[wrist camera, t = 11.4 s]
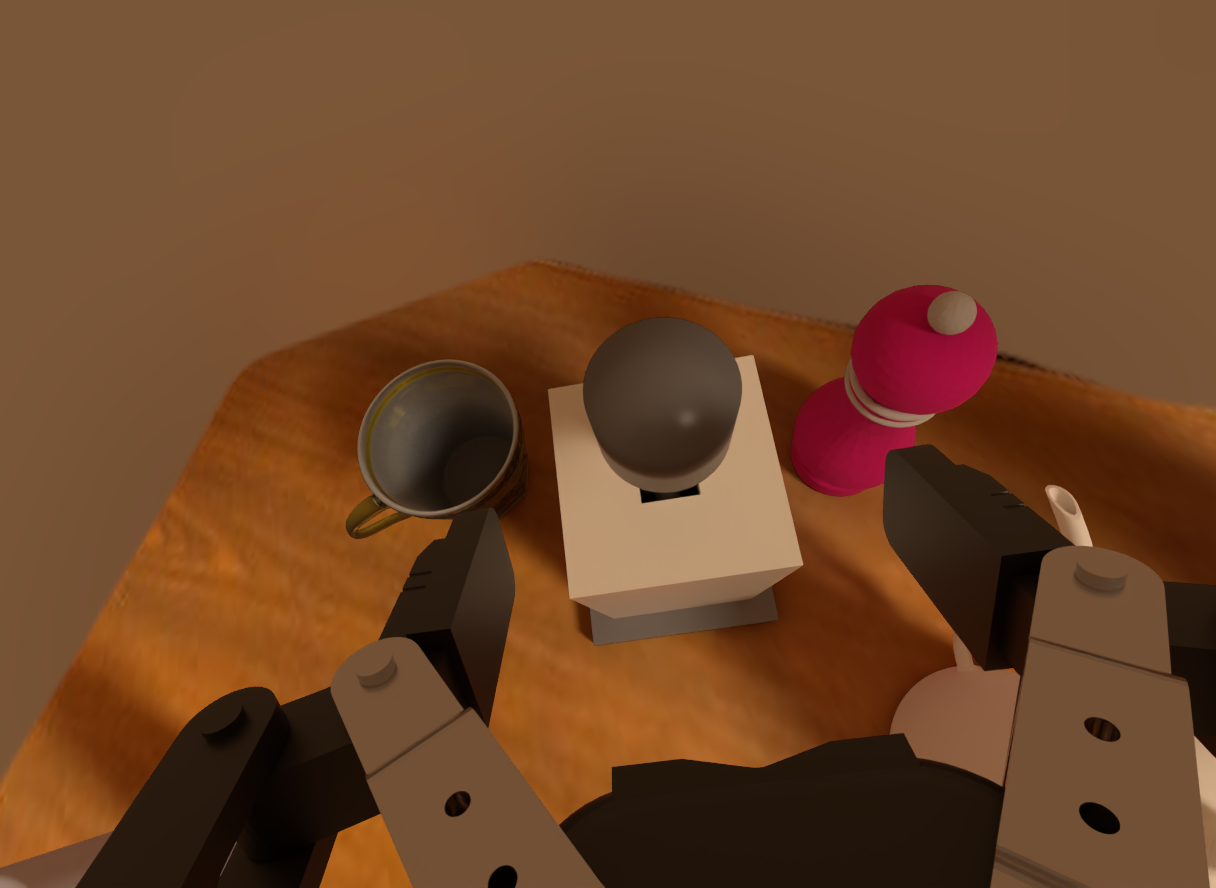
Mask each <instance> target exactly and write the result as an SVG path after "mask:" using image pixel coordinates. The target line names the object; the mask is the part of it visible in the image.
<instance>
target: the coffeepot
mask: <svg viewBox="0 0 1216 888" xmlns="http://www.w3.org/2000/svg"><path fill="white" fill-rule="evenodd" d="M1045 491H1046V494H1047V496H1048V499H1049V502H1050V504H1051V507H1052V509H1053V512H1054V515H1055V518H1056V520H1057V523H1058V526H1059V529H1060V531H1061V534H1062V535H1063V536H1065V537H1066V538H1067V539H1068V540H1070V541H1071V542H1072V543H1073V544H1074V545H1076V546H1092V547H1093V545H1092V541H1091V538H1090V535H1089V532H1088V529H1087V527H1086V524H1085V521H1084V519H1083V516H1082V513H1081V511H1080V508H1079V506H1078V503H1077V502H1076V500H1075V499H1074V497H1073V496H1072V495H1071V494H1070V493H1069V492H1068V491H1067V490H1065V489H1063V488H1061V487H1059V486H1055V485H1048V486H1046V488H1045ZM953 650H954V656H955V660H956V664H957V666H955V667H950V668H946V669H942V670H939V671H937V672H934V673H932V674H930V675H928V676H926V677H925V678H923V679H922V680H920V681H919V682H918V683H917V684H915V685H914V686H913V687H912V688H911V689H910V690H909V691H908V693H907V694H906V695H905V696H904V698H903V699H902V701H901V702H900V704H899V706H898V708H897V710H896V712H895V715H894V717H893V721H892V724H891V728H890V734H898V733H904V735H905V736H906V738H907V740H908V742H909V744H910V746H911V748H912V750H913V752H914V754H915V755H916V757H917V758H923V759H929V760H933V761H938V762H942V763H946V764H950V765H953V766H956V767H959V768H962V769H965V770H968V771H970V772H973V773H975V774H977V775H980V776H982V777H984V778H987V779H989V780H991V781H993V782H995V783H997V784H999V785H1000V786H1002V780H1003V774H1004V769H1005V763H1006V757H1007V751H1008V745H1009V739H1010V733H1011V727H1012V721H1013V715H1014V709H1015V703H1016V697H1017V691H1018V686H1019V681H1020V676H1019V674H1018V673H1014V672H1009V671H1005V670H992V671H984V670H983V669H982V668H981V666H975V665H974V664H973V661H972V656H971V653H970V652H969V650H968V649H967V648H966V646H965V645H964V644H963V642H962V641H961V640H960V638H959V637H958V636H957V634H956V633H955V632H954V635H953ZM890 734H889V735H890ZM1194 741H1195V750H1196V760H1197V769H1198V779H1199V788H1200V798H1201V807H1202V817H1203V826H1204V836H1205V845H1206V855H1207V864H1208V874H1209V883H1210V888H1216V758H1215V757H1214V756H1213V755H1212V754H1211V753H1210V752H1209V751H1208V750H1207V749H1206V748H1205V747H1204V746H1203V745H1202V743H1201V742H1200V741H1199V740H1198V739H1197V738H1196V737H1195V736H1194Z"/></svg>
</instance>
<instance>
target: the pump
mask: <svg viewBox="0 0 1216 888" xmlns="http://www.w3.org/2000/svg"><path fill="white" fill-rule="evenodd" d="M741 398H742V380H741V374H740V370H739V367H738V364H737V362H736V360H735V358H734V356H733V354H732V353H731V351H730V350H729V348H728V347H727V346H726V345H725V343H724V342H723V341H722V340H721V339H720V338H719V337H717V336H716V335H715V334H714V333H712V332H711V331H709V330H708V329H706V328H704V327H702V326H700V325H698V324H696V323H693V322H690V321H687V320H683V319H678V318H670V317H659V318H650V319H645V320H641V321H638V322H635V323H632V324H629V325H627V326H625V327H623V328H621V329H620V330H618V331H617V332H615V333H614V334H612V335H611V336H610V337H609V338H608V339H606V340H605V341H604V342H603V343H602V344H601V346H600V347H599V348H598V349H597V351H596V352H595V353H594V355H593V357H592V358H591V360H590V362H589V364H588V367H587V370H586V372H585V377H584V381H583V401H584V406H585V411H586V413H587V416H588V419H589V422H590V424H591V427H592V429H593V432H594V434H595V437H596V440H597V442H598V445H599V447H600V450H601V453H602V455H603V457H604V459H605V461H606V462H607V464H608V465H609V466H610V468H611V469H612V470H613V471H614V472H615V473H616V474H617V475H618V476H619V477H620V478H622V479H623V480H624V481H626V482H628V483H629V484H631V485H633V486H635V487H637V488H640V489H643V490H647V491H652V492H655V499H656V501H662V500H668V499H675V498H680V493H681V490H685V489H688V488H690V487H693V486H695V485H697V484H699V483H701V482H702V481H704V480H705V479H706V478H708V477H709V476H710V475H711V474H712V473H713V472H714V471H715V470H716V469H717V468H718V467H719V466H720V464H721V463H722V461H723V459H724V458H725V456H726V454H727V451H728V449H729V445H730V442H731V438H732V434H733V431H734V427H735V423H736V419H737V415H738V412H739V408H740V404H741Z"/></svg>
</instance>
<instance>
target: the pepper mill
mask: <svg viewBox="0 0 1216 888" xmlns="http://www.w3.org/2000/svg"><path fill="white" fill-rule="evenodd" d="M997 345H998V343H997V337H996V332H995V328H994V325H993V323H992V321H991V319H990V317H989V315H988V314H987V313H986V311H985V310H984V309H983V308H982V307H981V306H980V305H979V304H978V303H977V302H976V301H975V300H974V299H972V298H971V297H970V296H969V295H967V294H966V293H963V292H960V291H957V290H955V289H952V288H949V287H944V286H938V285H918V286H913V287H909V288H905V289H901V290H898V291H895V292H893V293H892V294H890V295H888V296H886V297H885V298H883V299H881V300H880V301H879V302H877V303H876V304H875V305H874V306H873V307H872V308H871V309H870V310H869V311H868V313H867V314H866V315H865V316H864V318H863V319H862V320H861V321H860V323H859V325H858V327H857V329H856V331H855V334H854V338H853V343H852V347H851V359H850V360H849V362H848V365H847V367H846V370H845V377H842V378H838V379H835V380H833V381H831V382H829V383H827V384H825V385H823V386H821V387H820V388H819V389H817V390H816V391H815V392H813V393H812V394H811V395H810V397H809V398H808V399H807V400H806V402H805V403H804V404H803V405H802V407H801V408H800V410H799V412H798V414H797V417H796V420H795V424H794V437H793V440H792V444H791V459H792V463H793V466H794V468H795V470H796V472H797V474H798V475H799V477H800V478H801V479H802V480H803V481H804V482H805V483H806V484H807V485H808V486H810V487H811V488H812V489H814V490H816V491H818V492H820V493H823V494H826V495H830V496H839V497H843V496H850V495H854V494H857V493H860V492H861V491H863V490H865V489H868V488H872V487H876V486H878V485H880V484H883V483H884V477H885V459H886V455H887V453H888V452H889V451H890V450H893V449H900V448H907V447H914V443H915V437H916V425H919V424H921V423H923V422H925V421H927V420H929V419H930V418H932V417H933V416H934V415H935V414H936V413H941V412H945V411H948V410H950V409H953V408H955V407H958V406H959V405H961V404H962V403H964V402H965V401H967V400H968V399H970V398H971V397H972V396H973V395H974V394H976V393H977V392H978V390H979V389H980V388H981V387H982V385H983V384H984V383H985V382H986V380H987V379H988V377H989V376H990V374H991V371H992V369H993V366H994V364H995V361H996V356H997Z"/></svg>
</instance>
